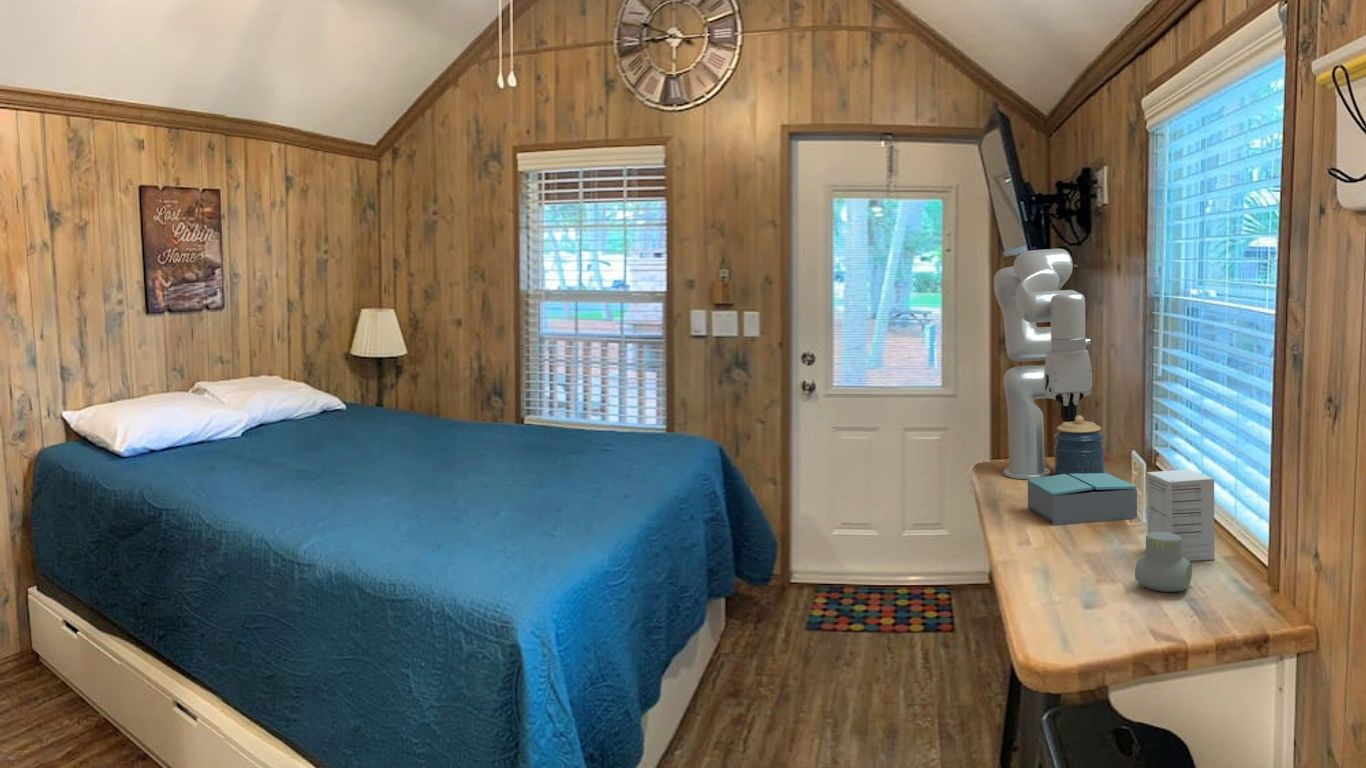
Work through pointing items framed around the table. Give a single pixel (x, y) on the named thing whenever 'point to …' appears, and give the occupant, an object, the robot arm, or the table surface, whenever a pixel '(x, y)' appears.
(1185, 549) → the supplement box
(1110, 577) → the table surface
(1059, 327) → the robot arm
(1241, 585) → the table surface
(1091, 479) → the flap
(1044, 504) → the box
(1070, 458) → the canister
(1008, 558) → the table surface
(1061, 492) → the flap
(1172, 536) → the air freshener
